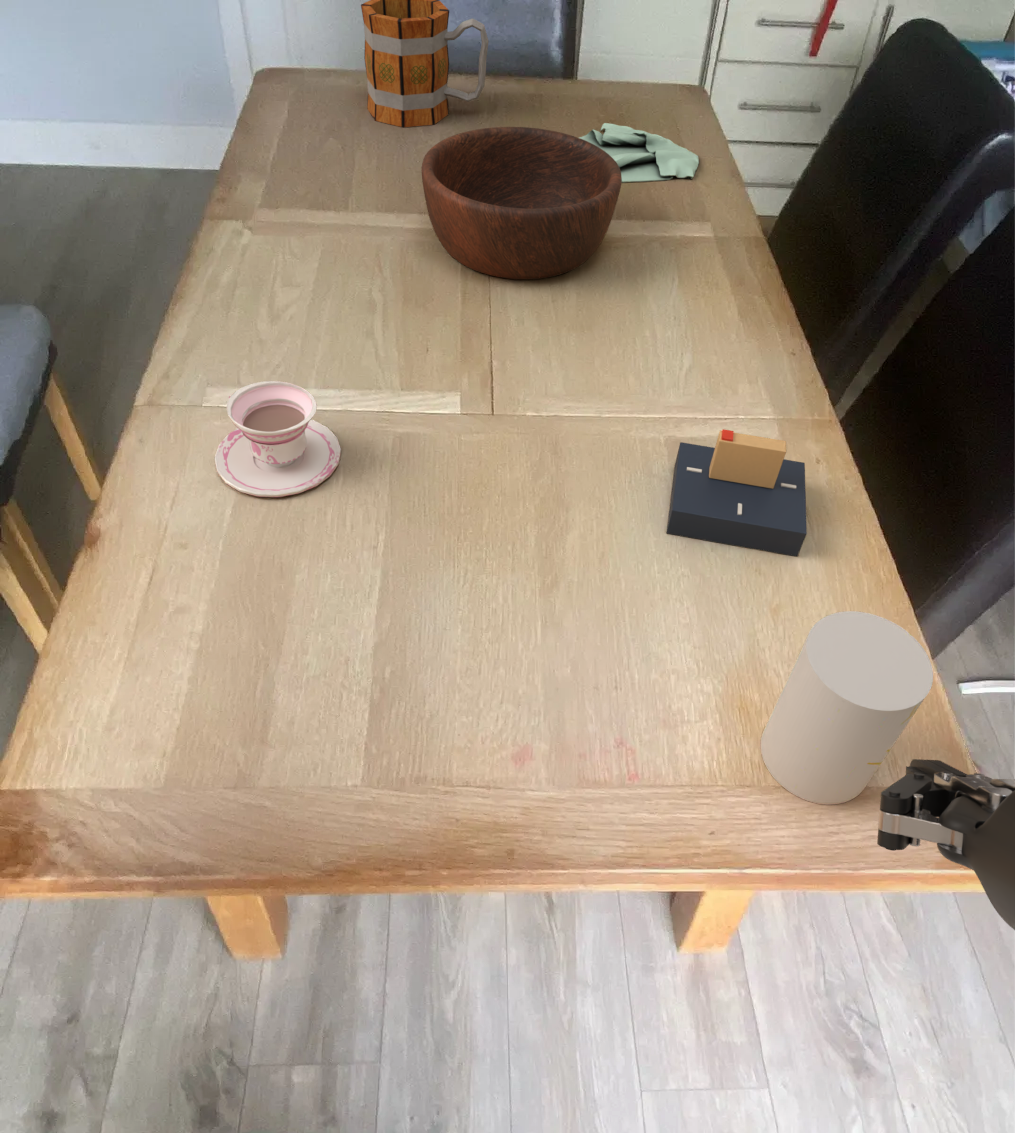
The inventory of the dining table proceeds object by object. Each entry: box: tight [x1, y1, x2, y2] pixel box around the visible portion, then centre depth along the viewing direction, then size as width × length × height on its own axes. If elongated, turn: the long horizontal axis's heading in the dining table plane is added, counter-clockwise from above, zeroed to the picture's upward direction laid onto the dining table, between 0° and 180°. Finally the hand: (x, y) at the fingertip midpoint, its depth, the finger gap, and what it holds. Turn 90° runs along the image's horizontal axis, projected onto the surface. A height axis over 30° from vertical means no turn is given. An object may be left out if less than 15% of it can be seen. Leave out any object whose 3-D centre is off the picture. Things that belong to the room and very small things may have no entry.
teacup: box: [214, 380, 342, 498], centre depth 86 cm, size 12×12×6 cm
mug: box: [360, 0, 490, 128], centre depth 143 cm, size 20×14×15 cm
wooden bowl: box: [421, 126, 623, 280], centre depth 116 cm, size 25×25×10 cm
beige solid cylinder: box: [760, 610, 934, 806], centre depth 64 cm, size 8×8×12 cm
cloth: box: [578, 122, 700, 183], centre depth 140 cm, size 20×22×2 cm
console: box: [665, 441, 808, 557], centre depth 85 cm, size 12×11×3 cm
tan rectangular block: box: [709, 428, 787, 489], centre depth 83 cm, size 6×2×5 cm, turn 78°
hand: (921, 777), depth 51 cm, fingers closed
